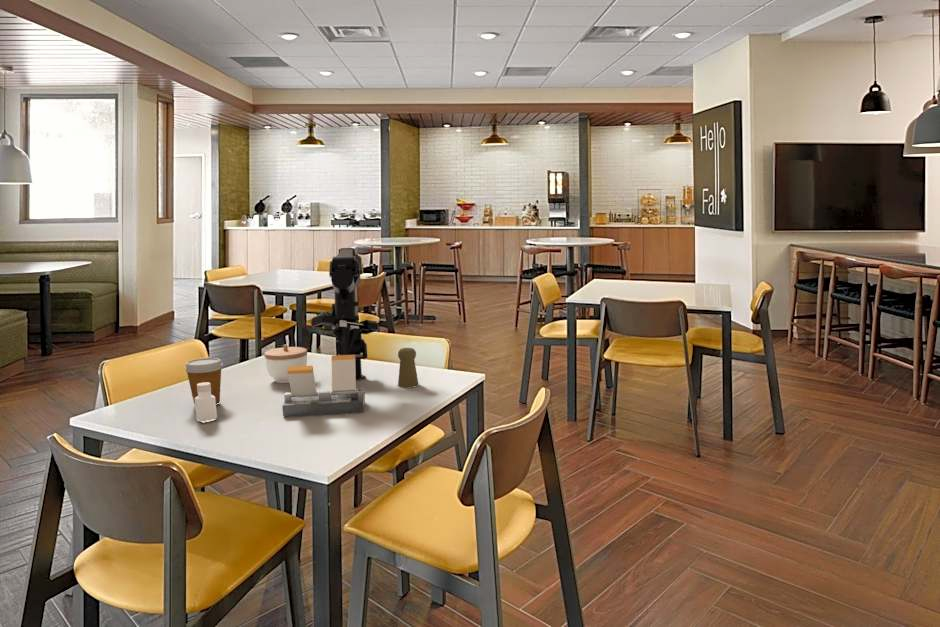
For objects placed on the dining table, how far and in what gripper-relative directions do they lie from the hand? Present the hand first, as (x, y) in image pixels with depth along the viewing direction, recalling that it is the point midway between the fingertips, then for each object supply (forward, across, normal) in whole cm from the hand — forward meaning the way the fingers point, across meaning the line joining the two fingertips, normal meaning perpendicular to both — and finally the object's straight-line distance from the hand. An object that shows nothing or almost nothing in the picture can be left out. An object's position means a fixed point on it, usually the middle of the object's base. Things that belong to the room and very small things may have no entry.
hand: (346, 354), depth 182 cm
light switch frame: (+15, +7, 0) cm, 17 cm away
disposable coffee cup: (+11, +25, -29) cm, 40 cm away
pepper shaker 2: (+17, +31, -16) cm, 39 cm away
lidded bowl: (+2, -2, -33) cm, 33 cm away
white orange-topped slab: (+11, +12, -2) cm, 16 cm away
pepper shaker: (+7, -22, 0) cm, 23 cm away
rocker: (+11, +4, +4) cm, 13 cm away
